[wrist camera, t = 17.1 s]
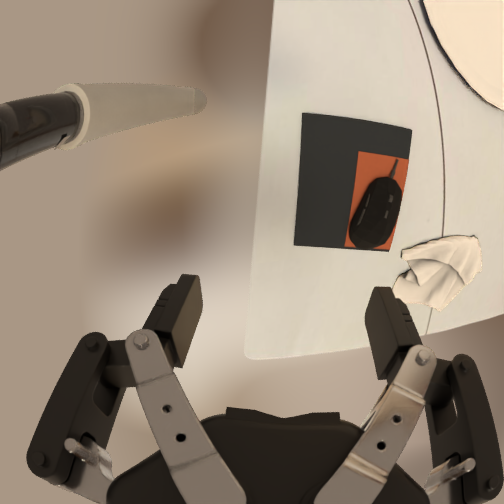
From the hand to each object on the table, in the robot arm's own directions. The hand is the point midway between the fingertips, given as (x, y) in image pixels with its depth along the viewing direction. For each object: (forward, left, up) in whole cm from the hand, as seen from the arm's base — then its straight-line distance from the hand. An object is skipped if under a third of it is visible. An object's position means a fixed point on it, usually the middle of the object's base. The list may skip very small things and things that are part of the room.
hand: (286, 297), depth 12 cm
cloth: (+30, -17, -28) cm, 45 cm away
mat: (+10, -3, -28) cm, 30 cm away
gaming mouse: (+14, -5, -28) cm, 32 cm away
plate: (+34, +30, -28) cm, 53 cm away
